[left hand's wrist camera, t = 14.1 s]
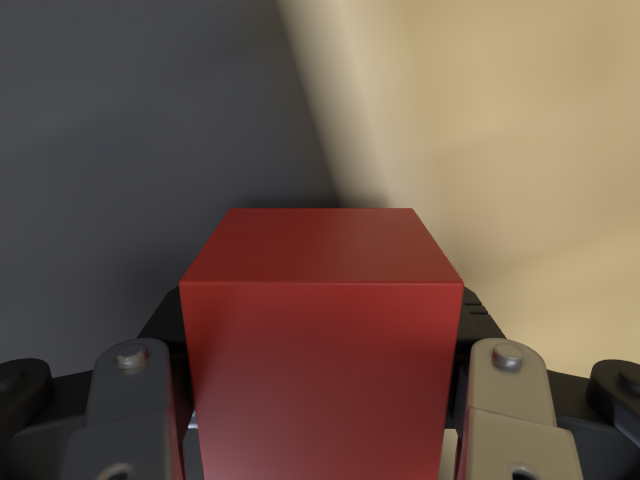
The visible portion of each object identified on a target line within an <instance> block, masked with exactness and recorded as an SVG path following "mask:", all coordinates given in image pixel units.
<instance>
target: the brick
mask: <svg viewBox="0 0 640 480" xmlns="http://www.w3.org/2000/svg"><path fill="white" fill-rule="evenodd" d="M463 289H464V282H463V280H462V279H461V277H460V276H459V275H458V273H457V272H456V270H455V269H454V267H453V266H452V264H451V263H450V262H449V260H448V259H447V257H446V256H445V254H444V253H443V252H442V250H441V249H440V247H439V246H438V244H437V243H436V241H435V240H434V239H433V237H432V236H431V234H430V233H429V231H428V230H427V228H426V227H425V226H424V224H423V223H422V221H421V220H420V218H419V217H418V215H417V214H416V213H415V211H414V210H413V209H412V208H230V209H229V210H228V212H227V213H226V215H225V216H224V217H223V219H222V220H221V222H220V223H219V225H218V226H217V228H216V229H215V230H214V232H213V233H212V235H211V236H210V238H209V239H208V241H207V242H206V243H205V245H204V246H203V248H202V249H201V251H200V252H199V254H198V255H197V256H196V258H195V259H194V261H193V262H192V264H191V265H190V267H189V268H188V270H187V271H186V272H185V274H184V275H183V277H182V278H181V280H180V281H179V290H180V298H181V305H182V313H183V321H184V328H185V336H186V343H187V351H188V359H189V366H190V374H191V381H192V389H193V396H194V404H195V412H196V419H197V427H198V434H199V442H200V450H201V457H202V465H203V472H204V480H438V474H439V466H440V459H441V452H442V444H443V437H444V429H445V422H446V415H447V407H448V400H449V392H450V385H451V378H452V370H453V363H454V355H455V348H456V341H457V333H458V326H459V318H460V311H461V303H462V296H463Z"/></svg>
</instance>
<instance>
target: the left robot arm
mask: <svg viewBox="0 0 640 480" xmlns="http://www.w3.org/2000/svg"><path fill="white" fill-rule="evenodd" d="M188 428H198V427H197V419H196V412H195V404H194V396H193V389H192V381H191V374H190V366H189V359H188V351H187V343H186V336H185V328H184V321H183V313H182V305H181V298H180V290H179V286H178V287H176V288H174V289H173V290H171V291H170V292H168V294H167V295H166V296H165V298H164V299H163V301H162V302H161V305H159V306H158V308H157V309H156V311H155V314H153V315H152V316H151V318H150V319H149V321H148V322H147V324H146V325H145V327H144V328H143V329H142V331H141V332H140V334H139V335H138V337H137V338H136V339H132V340H127V341H124V342H121V343H119V344H116V345H114V346H112V347H110V348H109V349H107V350H106V351H105V352H103V353H102V354H101V355H100V356H99V357H98V359H97V360H96V362H95V365H94V370H90V371H86V372H82V373H77V374H72V375H66V376H61V377H56V378H52V375H51V371H50V368H49V365H48V364H47V363H46V362H45V361H43V360H40V359H34V358H25V359H17V360H12V361H8V362H5V363H2V364H0V480H187V476H186V465H185V454H184V447H183V439H184V437H185V434H186V431H187V429H188ZM445 429H456V431H457V434H458V440H457V447H456V455H455V466H454V477H453V480H640V365H639V364H636V363H633V362H629V361H624V360H612V359H609V360H602V361H599V362H597V363H596V364H595V365H594V366H593V368H592V371H591V375H590V378H589V379H588V378H583V377H578V376H573V375H568V374H563V373H559V372H554V371H551V370H547V369H546V365H545V362H544V360H543V359H542V357H541V356H540V355H539V354H538V353H537V352H535V351H534V350H533V349H531V348H530V347H528V346H526V345H524V344H521V343H519V342H516V341H513V340H508V339H507V338H506V337H505V335H504V334H503V333H502V331H501V330H500V328H499V327H498V326H497V324H496V323H495V321H494V320H493V318H492V317H491V316H490V315H488V311H487V310H486V309H485V307H484V306H482V303H481V302H480V300H479V299H478V297H477V296H476V294H475V293H474V292H472V291H471V290H469V289H468V288H466V287H464V289H463V296H462V303H461V311H460V318H459V326H458V333H457V341H456V348H455V355H454V363H453V370H452V378H451V385H450V392H449V400H448V407H447V415H446V422H445Z"/></svg>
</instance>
